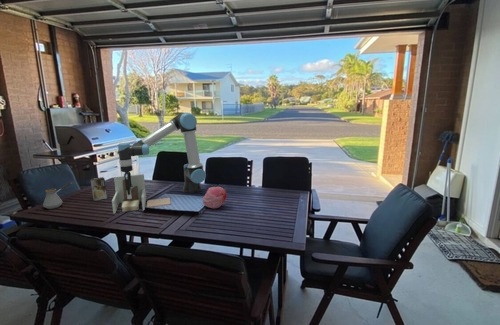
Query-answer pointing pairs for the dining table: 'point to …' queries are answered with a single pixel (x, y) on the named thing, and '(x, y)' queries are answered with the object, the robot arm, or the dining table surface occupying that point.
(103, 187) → the coffee box
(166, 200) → the tile
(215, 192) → the decorative rock
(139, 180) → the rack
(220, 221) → the dining table surface
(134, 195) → the wooden block
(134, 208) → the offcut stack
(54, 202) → the coffee pot
